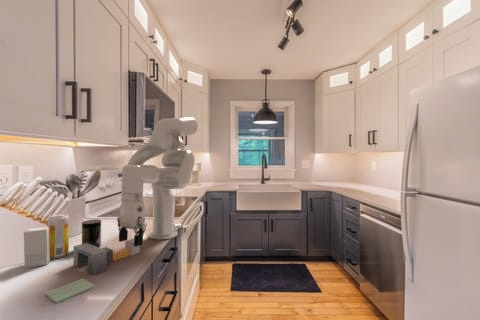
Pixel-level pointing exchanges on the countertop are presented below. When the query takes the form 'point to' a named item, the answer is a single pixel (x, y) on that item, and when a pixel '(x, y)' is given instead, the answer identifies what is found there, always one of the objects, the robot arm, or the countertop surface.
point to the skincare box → (36, 247)
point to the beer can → (58, 235)
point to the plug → (121, 251)
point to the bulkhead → (90, 258)
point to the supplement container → (91, 232)
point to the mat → (69, 290)
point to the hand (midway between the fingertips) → (130, 243)
